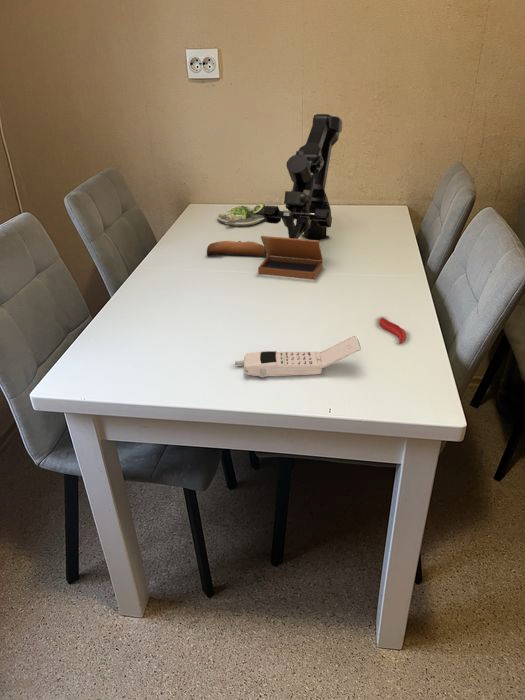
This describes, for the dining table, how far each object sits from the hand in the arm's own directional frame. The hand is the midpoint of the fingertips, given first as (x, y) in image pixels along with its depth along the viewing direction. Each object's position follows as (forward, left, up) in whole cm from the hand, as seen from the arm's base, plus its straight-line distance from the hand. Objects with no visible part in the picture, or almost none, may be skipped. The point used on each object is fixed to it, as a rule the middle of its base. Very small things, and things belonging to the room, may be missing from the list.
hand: (291, 244), depth 153 cm
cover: (0, 0, -1) cm, 2 cm away
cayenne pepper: (-3, +41, -8) cm, 42 cm away
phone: (+1, +1, -7) cm, 7 cm away
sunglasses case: (+7, -20, -8) cm, 23 cm away
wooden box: (+1, +1, -8) cm, 8 cm away
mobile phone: (+24, +44, -8) cm, 51 cm away
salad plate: (-9, -49, -8) cm, 50 cm away
